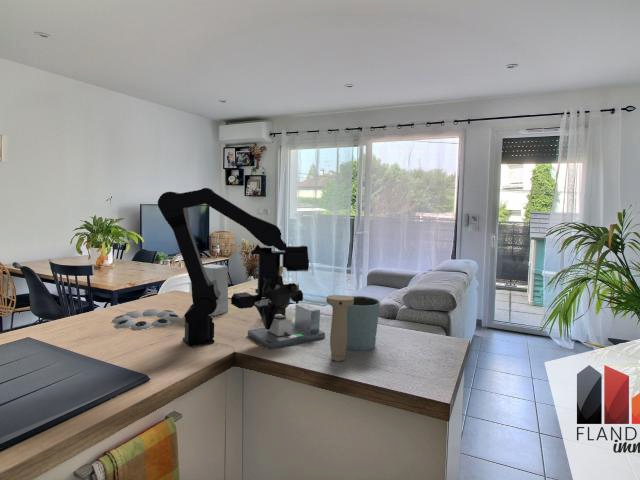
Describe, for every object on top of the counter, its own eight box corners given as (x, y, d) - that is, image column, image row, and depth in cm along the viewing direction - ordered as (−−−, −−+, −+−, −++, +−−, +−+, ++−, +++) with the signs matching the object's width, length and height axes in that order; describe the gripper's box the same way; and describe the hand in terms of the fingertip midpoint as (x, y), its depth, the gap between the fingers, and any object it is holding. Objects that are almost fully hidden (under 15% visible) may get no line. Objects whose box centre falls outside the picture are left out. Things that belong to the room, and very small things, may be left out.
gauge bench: (268, 349, 98) (269, 320, 98) (247, 335, 108) (248, 308, 107) (324, 337, 108) (325, 311, 108) (301, 326, 118) (301, 301, 117)
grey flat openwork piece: (194, 320, 122) (194, 314, 121) (134, 336, 105) (134, 329, 105) (156, 309, 132) (156, 303, 132) (97, 322, 116) (96, 316, 116)
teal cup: (380, 341, 107) (382, 298, 106) (375, 354, 98) (377, 306, 97) (343, 336, 110) (345, 294, 109) (335, 348, 100) (337, 302, 99)
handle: (351, 364, 91) (354, 300, 90) (324, 362, 91) (326, 299, 90) (350, 356, 96) (353, 295, 94) (324, 355, 96) (326, 294, 95)
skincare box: (228, 312, 130) (229, 266, 129) (213, 316, 125) (214, 268, 123) (211, 308, 135) (211, 263, 133) (195, 312, 129) (196, 265, 128)
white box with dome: (282, 339, 101) (283, 323, 101) (267, 330, 108) (267, 315, 108) (300, 335, 104) (301, 320, 104) (284, 327, 111) (285, 312, 111)
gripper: (249, 279, 91) (248, 344, 92) (315, 273, 102) (313, 332, 103) (230, 271, 100) (229, 331, 101) (293, 267, 111) (291, 321, 112)
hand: (267, 329), depth 104 cm, fingers closed
